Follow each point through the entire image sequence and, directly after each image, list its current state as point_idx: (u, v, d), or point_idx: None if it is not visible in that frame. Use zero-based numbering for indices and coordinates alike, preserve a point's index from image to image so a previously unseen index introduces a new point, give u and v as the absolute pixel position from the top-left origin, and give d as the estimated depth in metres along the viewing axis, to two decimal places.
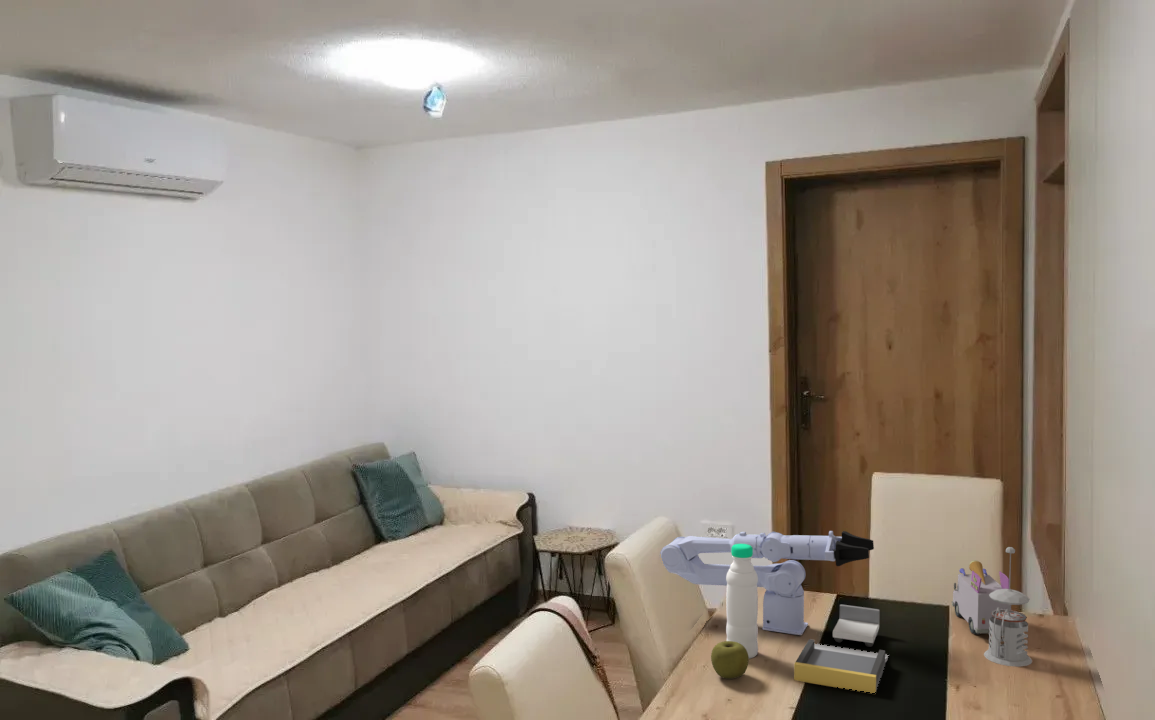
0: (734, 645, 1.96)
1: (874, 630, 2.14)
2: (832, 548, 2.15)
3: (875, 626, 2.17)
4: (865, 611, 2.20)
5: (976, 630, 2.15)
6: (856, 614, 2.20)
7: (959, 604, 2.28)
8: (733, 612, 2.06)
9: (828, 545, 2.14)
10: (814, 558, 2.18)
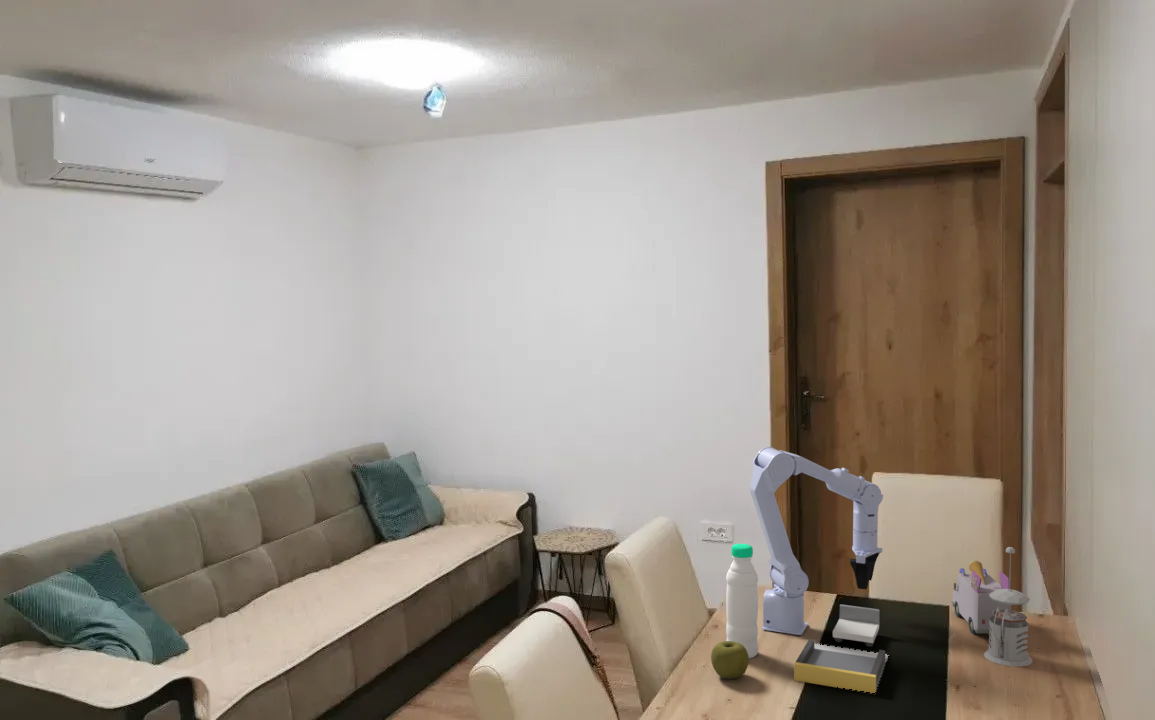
0: (734, 645, 1.96)
1: (874, 630, 2.14)
2: None
3: (875, 626, 2.17)
4: (865, 611, 2.20)
5: (976, 630, 2.15)
6: (856, 614, 2.20)
7: (959, 604, 2.28)
8: (733, 612, 2.06)
9: (869, 554, 2.22)
10: (855, 534, 2.26)
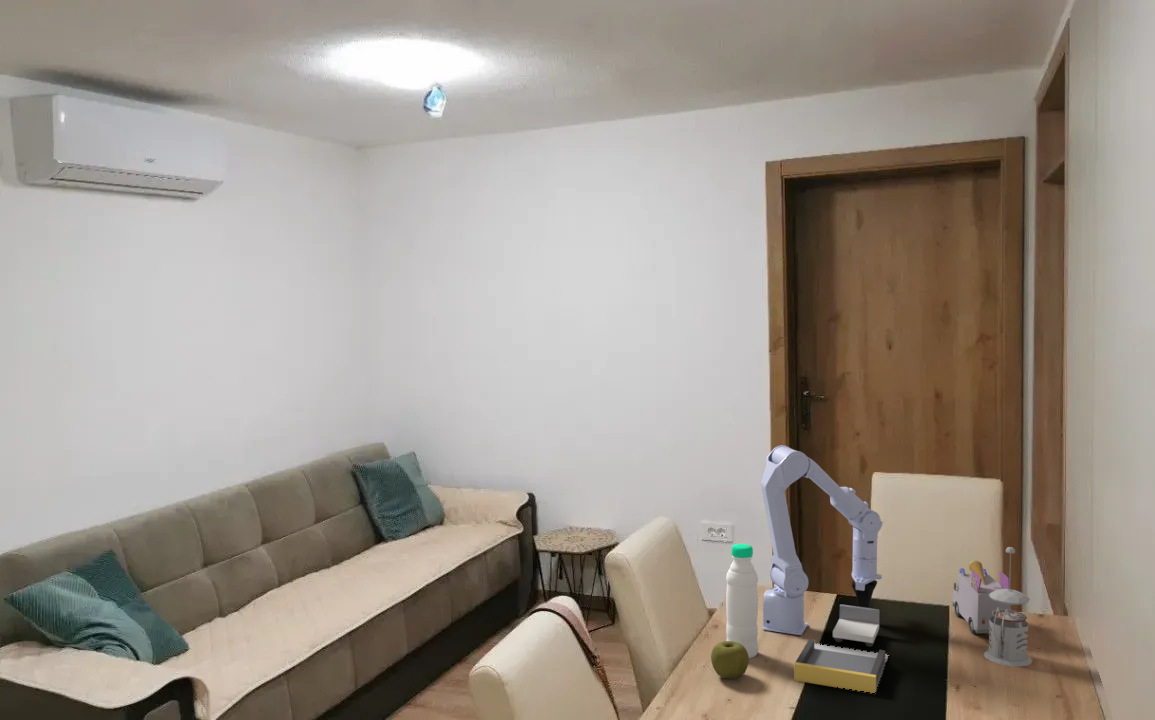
0: (734, 645, 1.96)
1: (874, 630, 2.14)
2: None
3: (875, 626, 2.17)
4: (865, 611, 2.20)
5: (976, 630, 2.15)
6: (856, 614, 2.20)
7: (959, 604, 2.28)
8: (733, 612, 2.06)
9: (869, 581, 2.22)
10: (854, 560, 2.26)
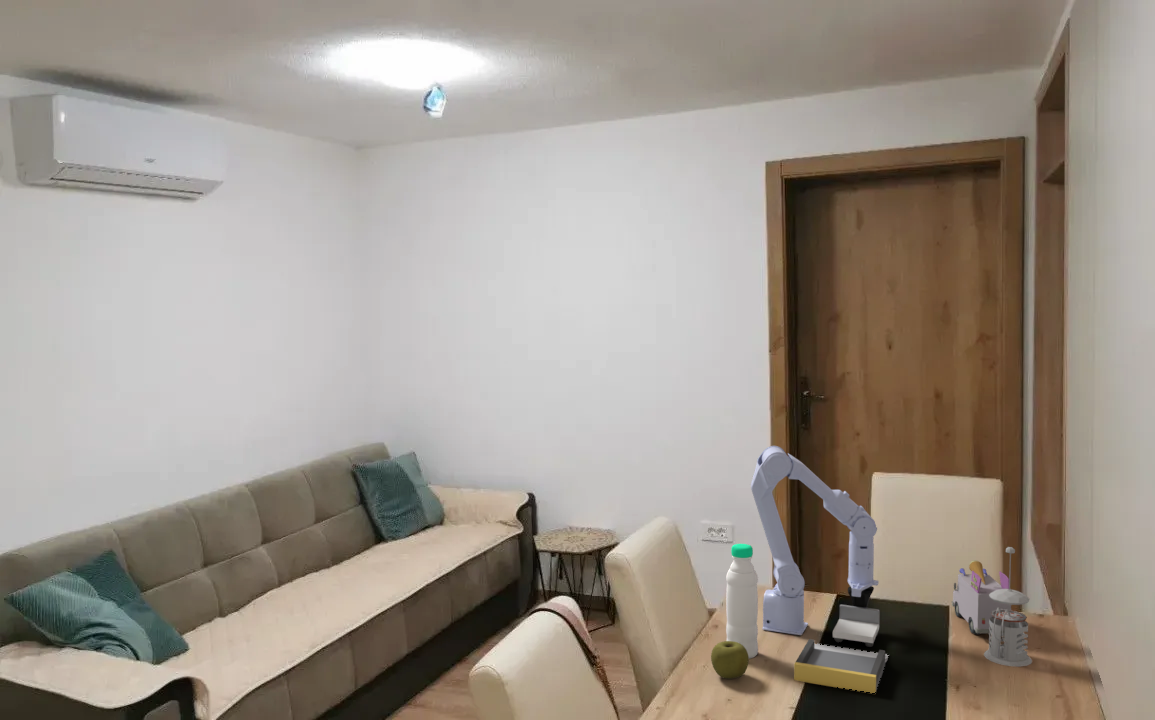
0: (734, 645, 1.96)
1: (874, 630, 2.14)
2: None
3: (875, 626, 2.17)
4: (864, 612, 2.19)
5: (976, 630, 2.15)
6: (856, 614, 2.20)
7: (959, 604, 2.28)
8: (733, 612, 2.06)
9: (865, 587, 2.17)
10: (850, 566, 2.21)
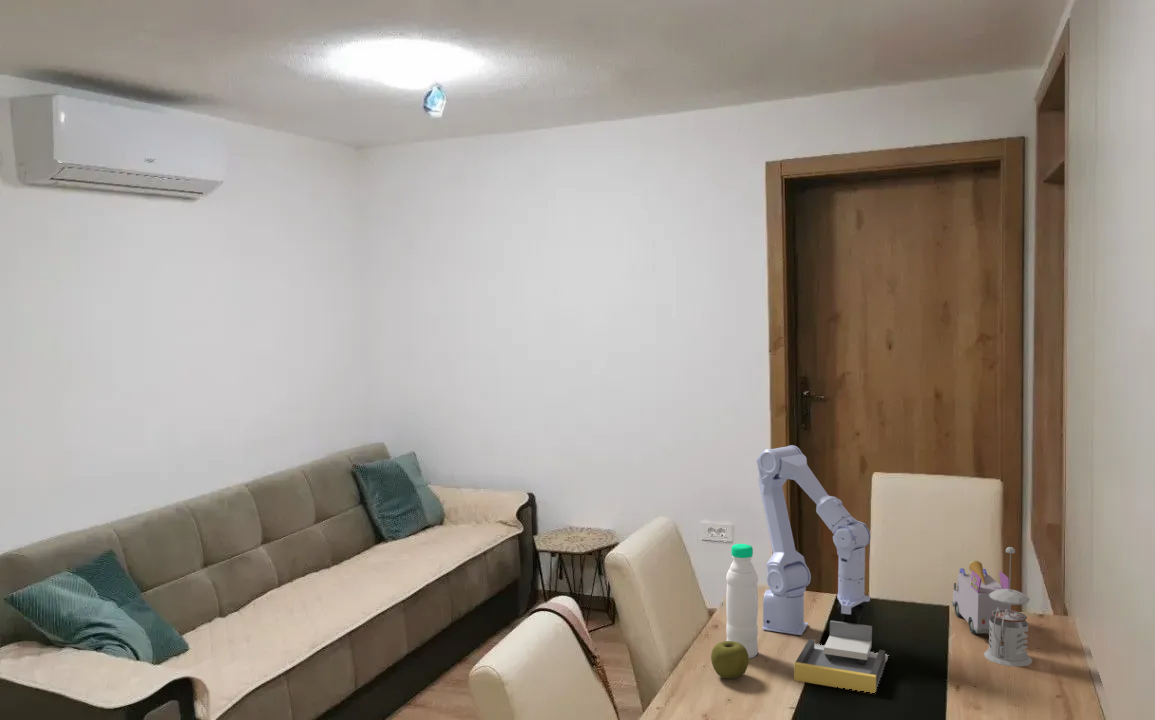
0: (734, 645, 1.96)
1: (867, 647, 2.01)
2: None
3: (868, 643, 2.04)
4: (856, 628, 2.06)
5: (976, 630, 2.15)
6: (847, 631, 2.07)
7: (959, 604, 2.28)
8: (733, 612, 2.06)
9: (856, 603, 2.04)
10: (840, 581, 2.08)
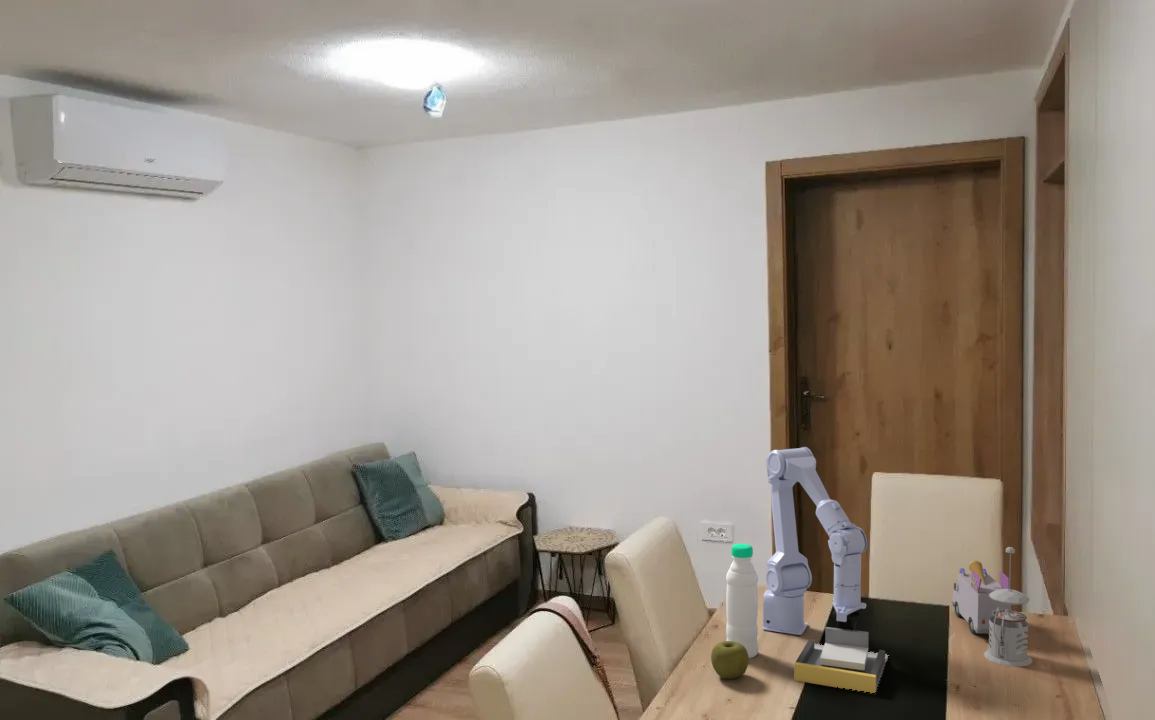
0: (734, 645, 1.96)
1: (864, 655, 1.96)
2: None
3: (865, 651, 1.99)
4: (852, 635, 2.01)
5: (976, 630, 2.15)
6: (843, 638, 2.02)
7: (959, 604, 2.28)
8: (733, 612, 2.06)
9: (851, 611, 1.99)
10: (835, 587, 2.03)
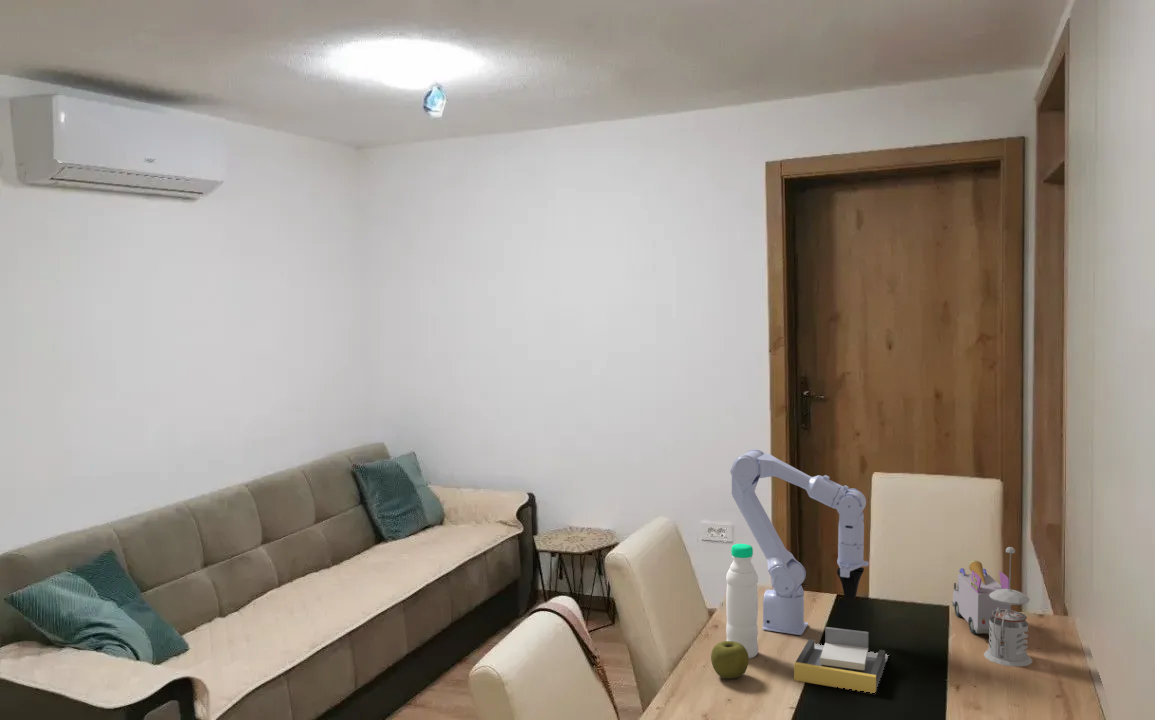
0: (734, 645, 1.96)
1: (864, 655, 1.96)
2: None
3: (865, 650, 1.99)
4: (852, 635, 2.01)
5: (976, 630, 2.15)
6: (843, 638, 2.02)
7: (959, 604, 2.28)
8: (733, 612, 2.06)
9: (854, 567, 2.12)
10: (840, 546, 2.15)
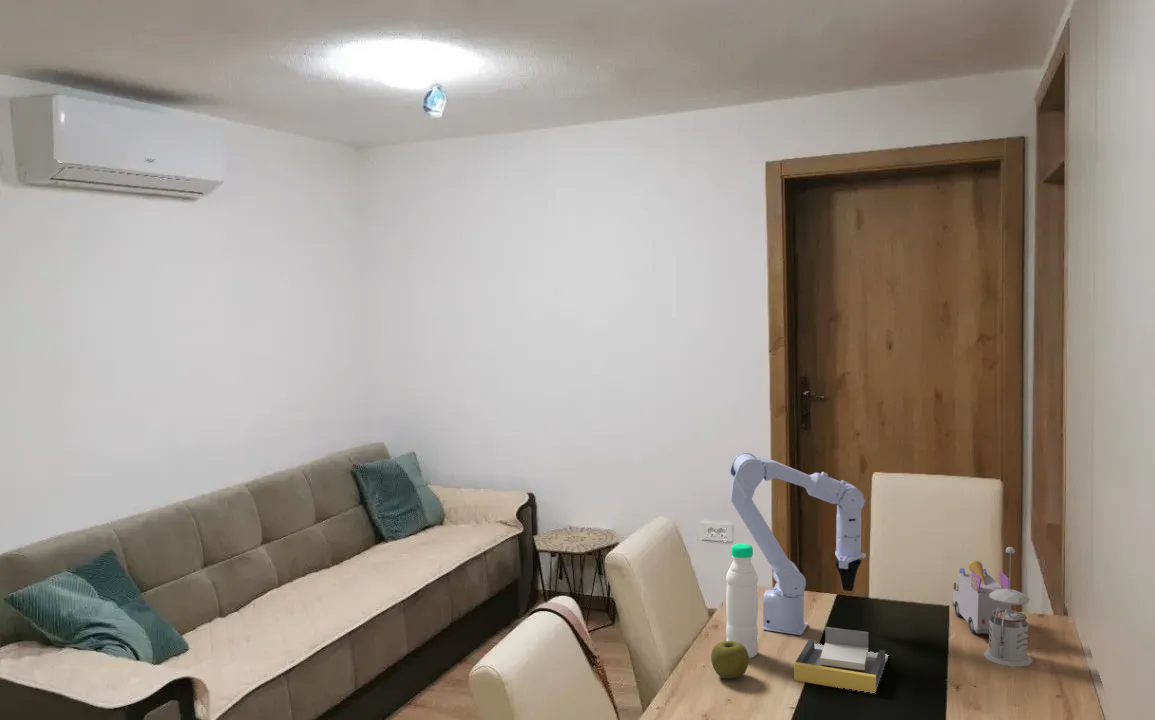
0: (734, 645, 1.96)
1: (864, 655, 1.96)
2: None
3: (865, 650, 1.99)
4: (852, 635, 2.01)
5: (976, 630, 2.15)
6: (843, 638, 2.02)
7: (959, 604, 2.28)
8: (733, 612, 2.06)
9: (852, 559, 2.18)
10: (838, 538, 2.22)
